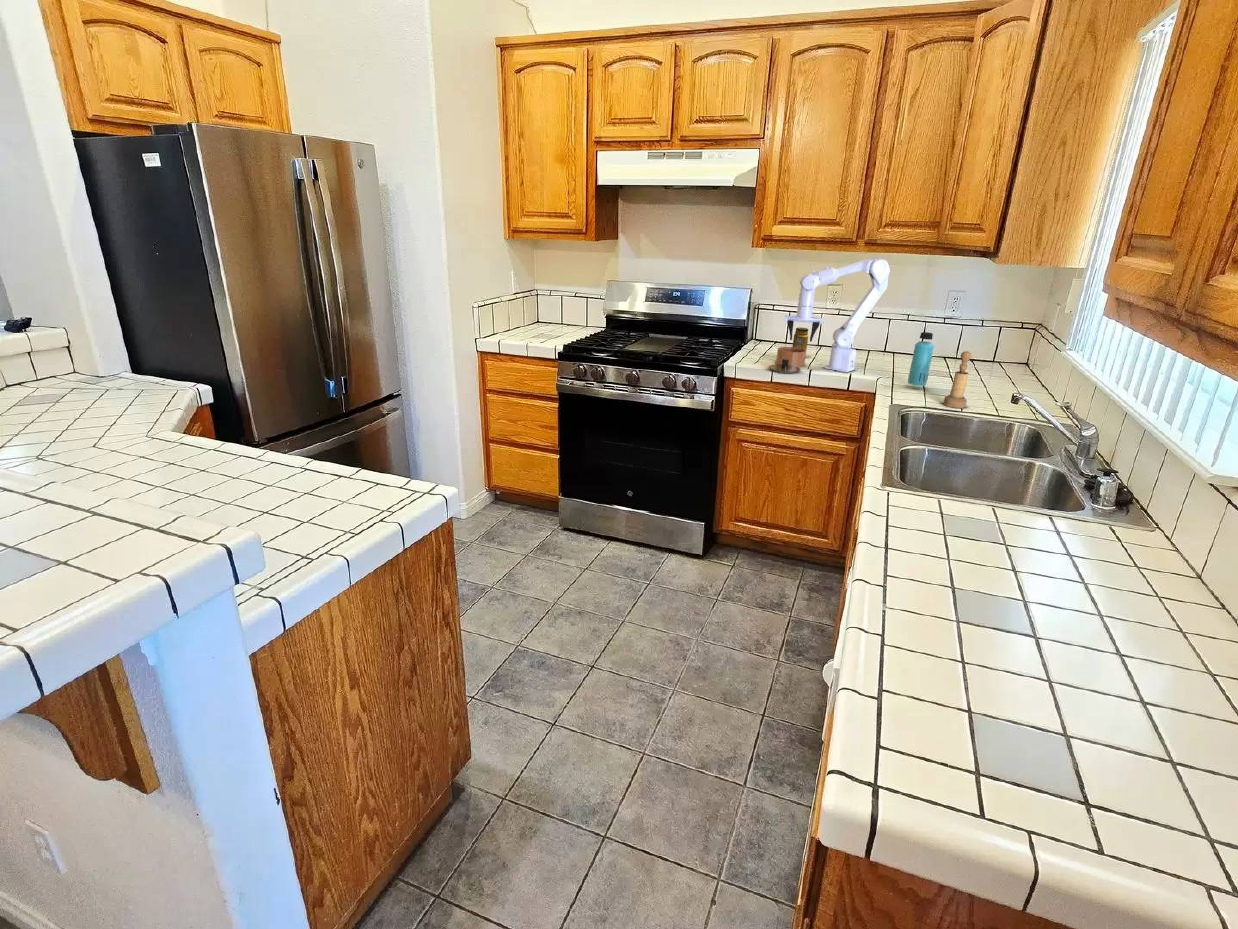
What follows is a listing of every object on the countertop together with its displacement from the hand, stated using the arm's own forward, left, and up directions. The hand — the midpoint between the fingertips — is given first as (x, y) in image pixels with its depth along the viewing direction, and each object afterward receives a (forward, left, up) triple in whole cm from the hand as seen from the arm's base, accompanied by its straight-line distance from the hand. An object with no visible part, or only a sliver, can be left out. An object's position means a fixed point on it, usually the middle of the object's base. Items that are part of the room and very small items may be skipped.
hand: (800, 340), depth 259 cm
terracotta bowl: (+4, -1, -10) cm, 11 cm away
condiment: (+10, -17, -11) cm, 23 cm away
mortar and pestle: (-64, +10, -11) cm, 66 cm away
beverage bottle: (-46, -4, -11) cm, 47 cm away
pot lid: (-1, +12, -10) cm, 15 cm away
